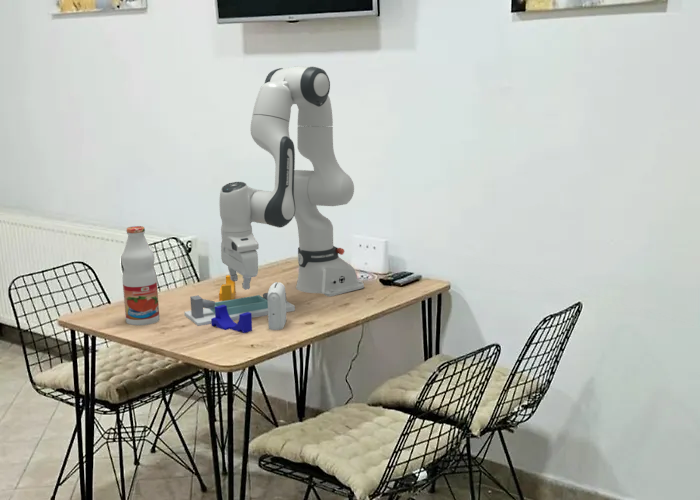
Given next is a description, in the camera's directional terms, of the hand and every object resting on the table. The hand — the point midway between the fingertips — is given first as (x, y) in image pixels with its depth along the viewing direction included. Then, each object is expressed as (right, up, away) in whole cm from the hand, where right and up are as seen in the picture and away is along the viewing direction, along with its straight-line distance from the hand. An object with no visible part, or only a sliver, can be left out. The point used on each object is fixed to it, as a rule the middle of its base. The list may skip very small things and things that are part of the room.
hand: (240, 284), depth 247 cm
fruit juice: (-27, -11, -5) cm, 30 cm away
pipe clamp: (-6, -6, +15) cm, 18 cm away
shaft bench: (0, -9, +2) cm, 9 cm away
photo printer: (+12, -11, -10) cm, 19 cm away
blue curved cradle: (-1, -13, -13) cm, 18 cm away
